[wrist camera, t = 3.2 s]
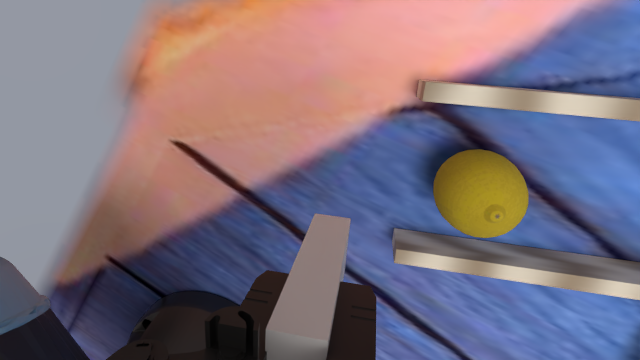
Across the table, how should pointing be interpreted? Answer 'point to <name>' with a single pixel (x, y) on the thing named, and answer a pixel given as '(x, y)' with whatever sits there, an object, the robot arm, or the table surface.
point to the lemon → (480, 193)
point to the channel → (516, 259)
